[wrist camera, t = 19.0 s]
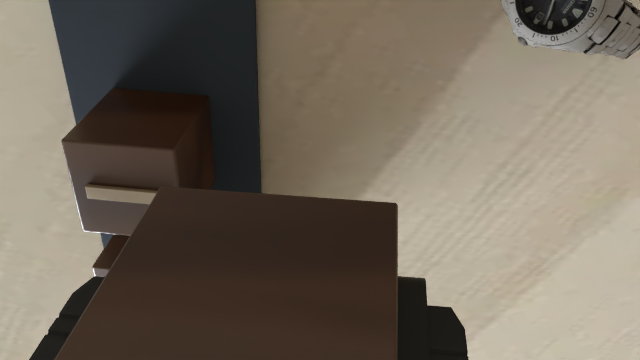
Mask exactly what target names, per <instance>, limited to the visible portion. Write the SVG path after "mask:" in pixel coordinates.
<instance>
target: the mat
mask: <svg viewBox="0 0 640 360" xmlns="http://www.w3.org/2000/svg"><path fill="white" fill-rule="evenodd" d="M49 4H50V9H51V13H52V18H53V22H54V27H55V31H56V36H57V40H58V45H59V49H60V54H61V58H62V63H63V67H64V72H65V76H66V81H67V85H68V90H69V94H70V99H71V103H72V108H73V112H74V117H75V121H76V125H77V124H78V123H79V122H80V121H81V120H82V119H83V118H84V117H85V116H86V115H87V114H88V113H89V112H90V111H91V109H92V108H93V107H94V106H95V105H96V104H97V103H98V102H99V101H100V100H101V99H102V98H103V97H104V96H105V95H106V94H107V93H108V92H109V91H110V90H111V89H112V88H119V89H132V90H144V91H157V92H169V93H182V94H194V95H207V96H209V104H210V117H211V129H212V142H213V154H214V166H215V181H214V183H213V185H212V187H211V189H210V190H220V191H234V192H248V193H261V169H260V136H259V102H258V69H257V35H256V2H255V0H49ZM100 234H101V238H102V243H103V247H104V248H105V246H106V245H107V243H108V242H109V240H110V239H111V237H112V236H113V234H106V233H100Z"/></svg>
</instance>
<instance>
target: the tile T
mask: <svg viewBox="0 0 640 360" xmlns="http://www.w3.org/2000/svg"><path fill="white" fill-rule="evenodd" d="M397 349H398V205H397V204H396V203H389V202H375V201H361V200H346V199H332V198H318V197H304V196H290V195H276V194H262V193H248V192H234V191H220V190H206V189H192V188H178V187H164V186H162V187H160V188H159V190H158V192H157V193H156V195H155V196H154V198H153V200H152V201H151V203H150V205H149V206H148V208H147V209H146V211H145V213H144V214H143V216H142V218H141V219H140V221H139V223H138V224H137V226H136V227H135V229H134V231H133V232H132V234H131V236H130V237H129V239H128V240H127V242H126V244H125V245H124V247H123V249H122V250H121V252H120V254H119V255H118V257H117V258H116V260H115V262H114V263H113V265H112V267H111V268H110V270H109V271H108V273H107V275H106V276H105V278H104V280H103V281H102V283H101V285H100V286H99V288H98V289H97V291H96V293H95V294H94V296H93V298H92V299H91V301H90V302H89V304H88V306H87V307H86V309H85V311H84V312H83V314H82V316H81V317H80V319H79V320H78V322H77V324H76V325H75V327H74V329H73V330H72V332H71V333H70V335H69V337H68V338H67V340H66V342H65V343H64V345H63V347H62V348H61V350H60V351H59V353H58V355H57V356H56V358H55V360H397Z"/></svg>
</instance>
